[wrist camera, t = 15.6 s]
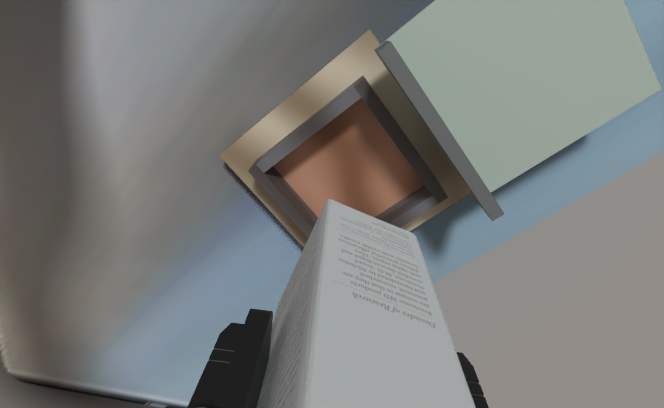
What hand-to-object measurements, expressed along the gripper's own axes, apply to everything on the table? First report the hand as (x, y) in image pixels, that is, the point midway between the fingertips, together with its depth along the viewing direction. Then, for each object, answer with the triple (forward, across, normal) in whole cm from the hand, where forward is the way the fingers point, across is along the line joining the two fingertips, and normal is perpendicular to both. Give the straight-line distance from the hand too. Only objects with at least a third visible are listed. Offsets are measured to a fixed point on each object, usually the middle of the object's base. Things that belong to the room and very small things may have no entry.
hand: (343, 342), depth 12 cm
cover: (+15, -9, -9) cm, 19 cm away
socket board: (+19, 0, 0) cm, 19 cm away
